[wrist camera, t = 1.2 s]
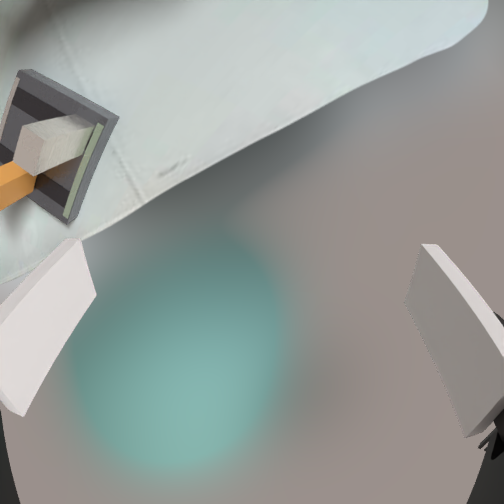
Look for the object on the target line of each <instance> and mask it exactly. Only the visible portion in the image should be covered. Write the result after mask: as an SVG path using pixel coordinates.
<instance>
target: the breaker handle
mask: <svg viewBox="0 0 504 504" xmlns="http://www.w3.org/2000/svg"><path fill="white" fill-rule="evenodd" d="M36 177H37V175H36V176H32V175H31V174H29V173H28V172H27V171H25V170H24V169H22V168H21V167H20V166H18V165H17V164H16V163H14V162H13V161H11V162H9V163H7V164H4V165H2V166H0V211H1V210H3V209H4V208H6V207H8V206H9V205H11V204H12V203H14V202H16V201H17V200H19V199H21V198H23V197H24V196H26V195H28V194H30V193H31V192H33V189H34V185H35V181H36Z"/></svg>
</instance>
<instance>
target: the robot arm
mask: <svg viewBox="0 0 504 504" xmlns="http://www.w3.org/2000/svg"><path fill="white" fill-rule="evenodd" d="M95 297H96V292H95V288H94V285H93V282H92V279H91V275H90V272H89V268H88V265H87V262H86V258H85V254H84V251H83V247H82V243H81V239H80V238H66V239H65V240H64V241H63V242H62V243H61V244H60V245H58V246H57V247H56V248H55V249H54V250H53V251H52V252H51V253H50V254H49V255H48V256H47V257H46V258H45V259H44V260H43V261H42V262H41V263H40V264H39V265H38V266H37V267H36V268H35V269H34V270H33V271H32V272H31V273H30V274H29V275H28V276H27V277H26V278H25V279H24V280H23V281H22V282H21V283H20V284H19V285H18V286H17V287H16V288H15V290H14V291H13V292H12V293H11V294H10V295H9V296H8V297H7V298H6V299H5V301H4V302H3V303H2V304H1V305H0V400H1V402H2V403H3V404H4V405H5V406H6V408H7V409H8V410H10V411H12V412H14V413H16V414H18V415H20V416H23V417H24V415H25V413H26V411H27V409H28V407H29V406H30V404H31V402H32V400H33V398H34V396H35V394H36V392H37V391H38V389H39V387H40V385H41V383H42V382H43V380H44V378H45V376H46V374H47V373H48V371H49V369H50V368H51V366H52V364H53V362H54V361H55V359H56V357H57V356H58V354H59V353H60V351H61V349H62V347H63V346H64V344H65V343H66V341H67V339H68V338H69V336H70V335H71V333H72V332H73V330H74V328H75V327H76V325H77V324H78V322H79V321H80V319H81V317H82V316H83V314H84V313H85V312H86V310H87V309H88V307H89V306H90V304H91V303H92V301H93V300H94V298H95ZM404 303H405V305H406V307H407V309H408V311H409V313H410V315H411V317H412V319H413V321H414V323H415V325H416V326H417V328H418V330H419V332H420V334H421V337H422V339H423V341H424V343H425V345H426V347H427V349H428V351H429V353H430V355H431V357H432V360H433V362H434V364H435V366H436V368H437V370H438V373H439V375H440V377H441V380H442V382H443V384H444V387H445V389H446V391H447V394H448V396H449V398H450V401H451V404H452V406H453V409H454V411H455V414H456V416H457V419H458V422H459V424H460V427H461V430H462V432H463V435H464V438H467V437H470V436H473V435H476V434H479V433H482V432H483V431H484V430H485V429H486V428H487V427H488V426H489V425H490V424H491V423H492V422H493V421H494V423H495V426H496V428H495V429H494V430H493V431H492V432H491V433H490V434H489V435H488V436H487V437H486V438H485V439H484V440H483V441H482V442H481V443H480V445H479V447H478V448H479V449H481V448H482V447H483V446H484V445H485V444H486V443H487V442H488V441H489V443H488V447H486V448H485V449H484V451H486V453H485V456H484V459H483V462H482V465H481V468H480V471H479V474H478V477H477V479H476V482H475V485H474V487H473V490H472V492H471V495H470V497H469V499H468V502H467V504H504V320H503V319H502V318H501V317H500V316H499V315H497V314H496V313H495V312H492V310H491V309H490V307H489V306H488V305H487V303H486V302H485V301H484V300H483V298H482V297H481V296H480V294H479V293H478V292H477V291H476V289H475V288H474V287H473V286H472V284H471V283H470V282H469V281H468V280H467V278H466V277H465V276H464V275H463V274H462V273H461V271H460V270H459V269H458V268H457V266H456V265H455V264H454V263H453V262H452V261H451V260H450V259H449V257H448V256H447V255H446V254H445V253H444V252H443V251H442V249H441V248H440V247H439V246H438V245H435V244H421V247H420V251H419V254H418V258H417V262H416V265H415V269H414V273H413V276H412V279H411V283H410V286H409V289H408V292H407V295H406V298H405V302H404ZM0 504H20V501H19V498H18V494H17V491H16V487H15V483H14V480H13V476H12V472H11V467H10V463H9V458H8V453H7V449H6V443H5V437H4V431H3V424H2V416H1V411H0Z"/></svg>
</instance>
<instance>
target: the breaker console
mask: <svg viewBox="0 0 504 504" xmlns="http://www.w3.org/2000/svg"><path fill="white" fill-rule="evenodd" d="M118 119H119V116H117V115H115V114H113V113H112V112H110V111H108V110H106V109H104V108H103V107H101V106H99V105H97V104H96V103H94V102H92V101H90V100H88V99H87V98H85V97H83V96H81V95H79V94H77V93H76V92H74V91H72V90H70V89H68V88H66V87H64V86H63V85H61V84H59V83H57V82H55V81H53V80H51V79H49V78H47V77H46V76H44V75H42V74H40V73H38V72H36V71H34V70H32V69H31V70H19V71H18V73H17V76H16V78H15V81H14V84H13V87H12V89H11V92H10V95H9V98H8V101H7V104H6V107H5V111H4V114H3V117H2V121H1V124H0V166H2V165H4V164H7V163H9V162H11V161H13V162H14V163H16V164H17V165H18V166H20V167H21V168H22V169H24V170H25V171H27V172H28V173H29V174H31V175H32V176H36V175H37V177H36V181H35V185H34V189H33V192H31V193H30V194H28V195H26V196H28V197H29V198H30V199H32V200H33V201H34V202H36V203H37V204H38V205H40V206H41V207H43V208H44V209H45V210H47V211H48V212H50V213H51V214H52V215H54V216H55V217H57V218H58V219H60V220H61V221H62V222H64V223H65V224H68V223H70V222H71V221H72V220H73V219H75V218H76V217H77V216H78V214H79V211H80V208H81V205H82V202H83V200H84V197H85V194H86V192H87V189H88V186H89V184H90V181H91V179H92V176H93V174H94V171H95V169H96V167H97V164H98V162H99V160H100V157H101V155H102V153H103V150H104V148H105V146H106V144H107V142H108V140H109V137H110V135H111V133H112V131H113V129H114V127H115V125H116V123H117V121H118Z"/></svg>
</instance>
